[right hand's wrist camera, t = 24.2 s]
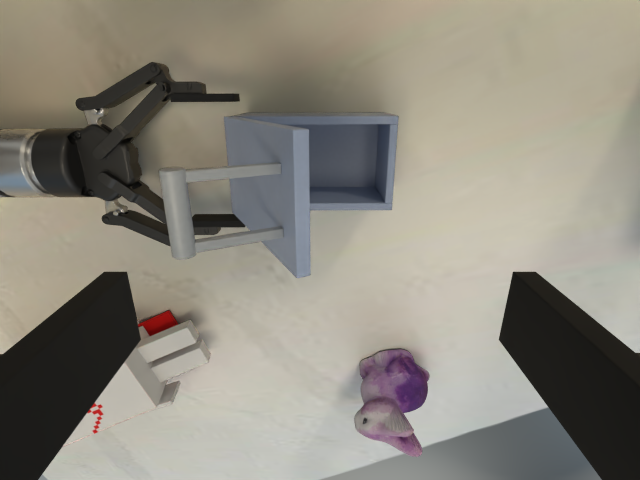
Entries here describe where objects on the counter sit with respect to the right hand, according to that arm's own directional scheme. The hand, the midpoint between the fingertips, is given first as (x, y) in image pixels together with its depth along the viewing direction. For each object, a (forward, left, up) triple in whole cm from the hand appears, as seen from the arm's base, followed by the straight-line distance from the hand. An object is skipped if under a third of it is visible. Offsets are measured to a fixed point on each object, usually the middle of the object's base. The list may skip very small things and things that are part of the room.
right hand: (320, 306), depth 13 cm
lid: (+2, -4, -20) cm, 21 cm away
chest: (0, 0, -37) cm, 37 cm away
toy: (+42, -12, -37) cm, 58 cm away
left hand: (+4, -8, -31) cm, 32 cm away
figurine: (+25, +26, -37) cm, 52 cm away
